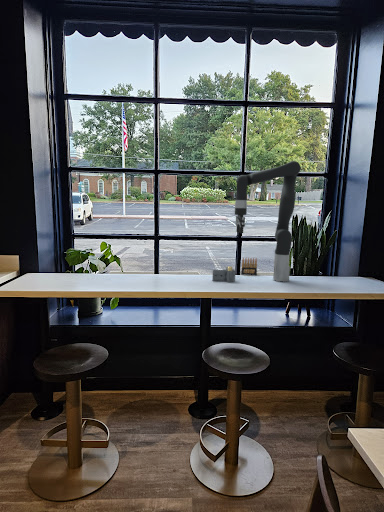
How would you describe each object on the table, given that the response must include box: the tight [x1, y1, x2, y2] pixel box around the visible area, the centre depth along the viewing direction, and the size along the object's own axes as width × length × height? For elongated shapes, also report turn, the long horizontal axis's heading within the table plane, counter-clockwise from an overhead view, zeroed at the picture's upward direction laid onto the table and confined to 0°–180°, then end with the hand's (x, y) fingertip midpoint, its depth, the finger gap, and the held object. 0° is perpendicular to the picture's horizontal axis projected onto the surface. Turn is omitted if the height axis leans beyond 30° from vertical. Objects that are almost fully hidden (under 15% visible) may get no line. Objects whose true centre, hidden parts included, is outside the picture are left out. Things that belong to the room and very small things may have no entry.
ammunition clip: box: [240, 257, 258, 276], centre depth 241 cm, size 11×2×12 cm, turn 89°
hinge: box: [212, 266, 236, 283], centre depth 224 cm, size 14×14×7 cm
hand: (239, 232), depth 224 cm, fingers open, 8 cm apart
